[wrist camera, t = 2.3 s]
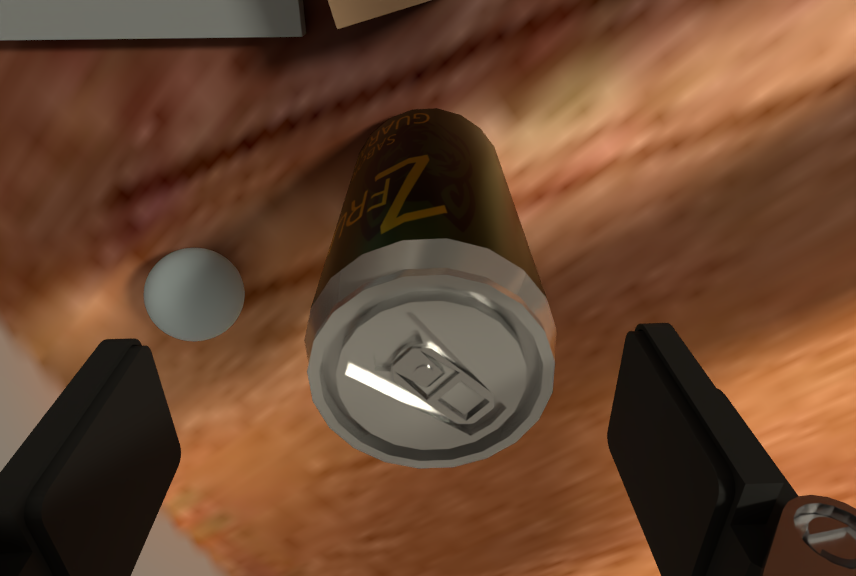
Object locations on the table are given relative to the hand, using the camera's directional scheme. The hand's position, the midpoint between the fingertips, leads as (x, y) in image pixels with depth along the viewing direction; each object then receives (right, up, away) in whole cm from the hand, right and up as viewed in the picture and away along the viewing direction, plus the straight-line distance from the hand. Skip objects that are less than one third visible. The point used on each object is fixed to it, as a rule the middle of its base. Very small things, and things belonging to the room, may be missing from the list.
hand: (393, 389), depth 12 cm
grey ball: (-8, +2, +11) cm, 14 cm away
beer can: (+1, +6, +11) cm, 12 cm away
